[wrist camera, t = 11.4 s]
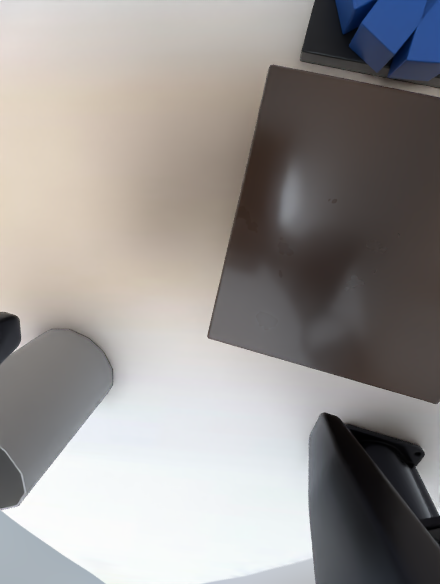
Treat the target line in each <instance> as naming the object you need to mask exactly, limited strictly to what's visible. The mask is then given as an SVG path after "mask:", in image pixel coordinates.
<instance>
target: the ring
mask: <svg viewBox="0 0 440 584" xmlns="http://www.w3.org/2000/svg"><path fill="white" fill-rule="evenodd" d="M335 2H336V6H337V11H338V15H339V20H340V24H341V29H342V33H343V34H346V33H348V32H350V31H351V30H353V29H355V28H357V27H359V28H358V30H357V32H356V33H355V35H354V37H353V39H352V41H351V42H350V44H349V47H350V48H351V49H352V50H353V51H354V52H355V53H356V54H357V55H358V56H359V57H360V58H361V59H363V60H364V61H365V62H366V63H367V64H368V65H369V66H370V67H371V68H372V69H373V70H374V71H375V72H376V73H378V72H379V71H380V70H381V69H382V68H383V67H384V66H385V65H386V64H387V63H388V61H389V60H390V59H391V58H392V57H393V56H394V57H393V60H392V63H391V67H390V70H389V73H388V78H396V79H408V80H419V81H429V80H431V79H432V78H434V77H435V76H437V75H439V74H440V0H335Z"/></svg>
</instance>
